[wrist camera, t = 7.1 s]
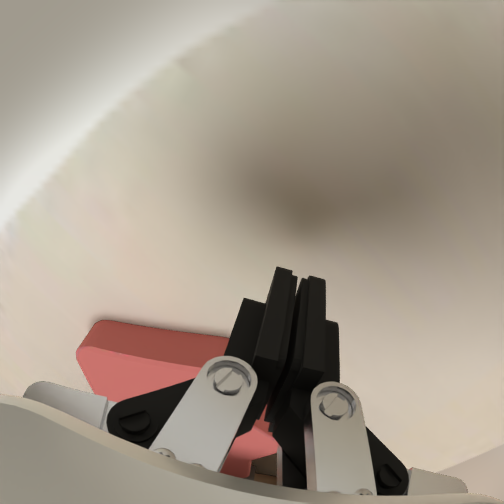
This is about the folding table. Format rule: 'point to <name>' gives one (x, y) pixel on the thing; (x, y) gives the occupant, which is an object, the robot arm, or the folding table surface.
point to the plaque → (161, 374)
